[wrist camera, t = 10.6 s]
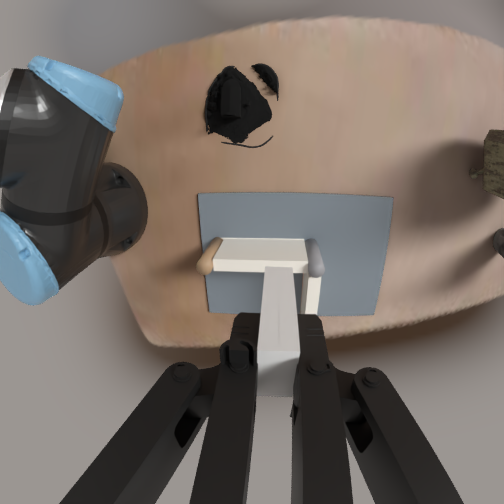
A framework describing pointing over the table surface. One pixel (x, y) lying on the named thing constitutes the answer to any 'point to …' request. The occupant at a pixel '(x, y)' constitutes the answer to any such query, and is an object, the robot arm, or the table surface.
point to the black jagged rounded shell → (238, 104)
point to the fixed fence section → (261, 256)
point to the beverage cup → (499, 242)
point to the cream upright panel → (310, 294)
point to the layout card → (302, 228)
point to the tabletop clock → (493, 163)
